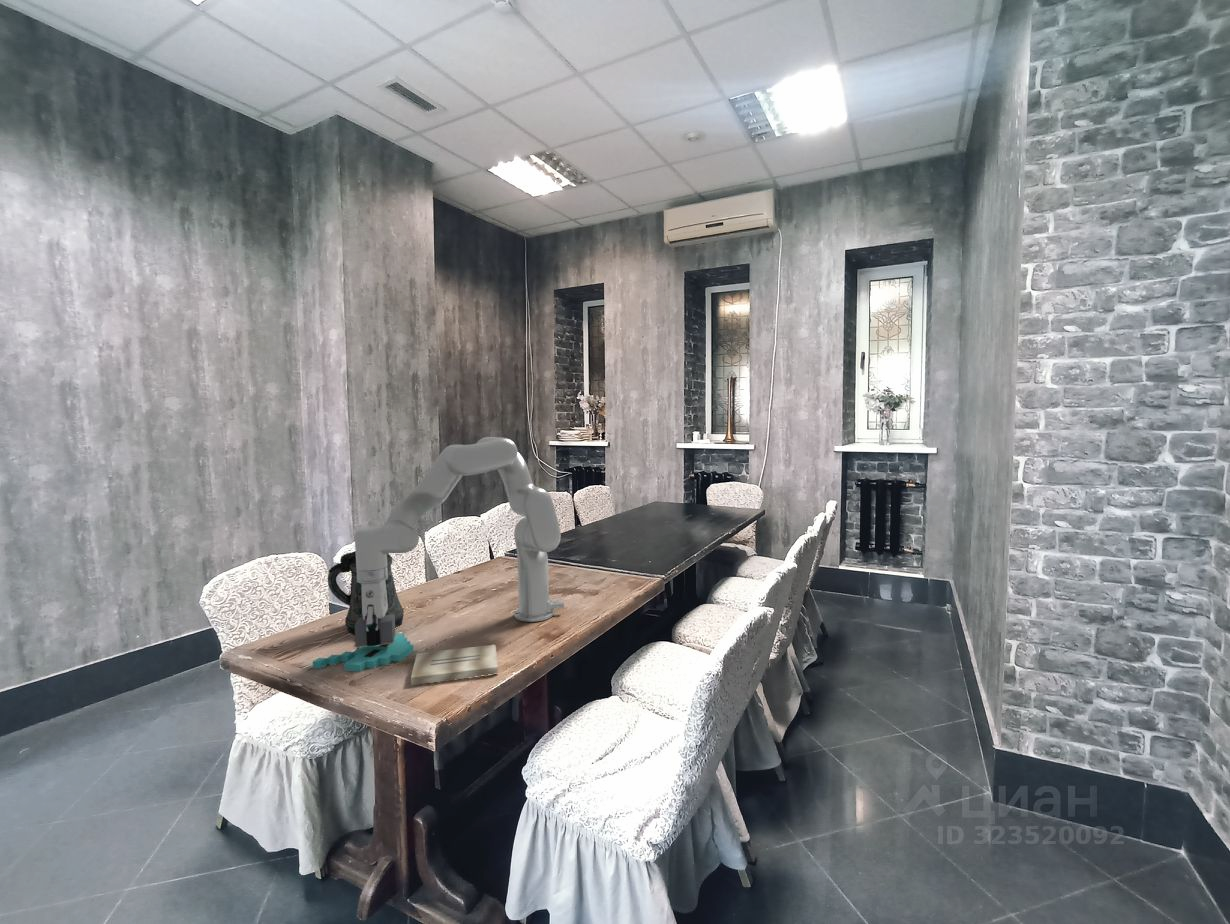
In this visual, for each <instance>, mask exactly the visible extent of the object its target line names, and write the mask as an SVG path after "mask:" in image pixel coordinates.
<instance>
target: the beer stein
mask: <svg viewBox="0 0 1230 924" xmlns="http://www.w3.org/2000/svg"><path fill="white" fill-rule="evenodd" d="M392 564H393V557H392V556H391V555H390V553H387V567H388V579H386V580H385V582H386V591H387V602H388V609H387V612H386V614H385V615H392V614H395V628H396V627H398V626H399V627H401V626H402V624H403V622H404V621H403V620H404V612H405V611H404V608H403V607H402V605H401V601H400V600H399V596H398V593H397V589H396V585H395V581H394V577H393V576H394V575H393V571H392ZM349 572H351V573H350V574H351V580H350V594H348V593H346V592H345V591H344V590H342V589H341V587H340V586H339V584H338V583H337V577H338V576H339V575H340V573H341V574H342V573H349ZM327 584H328V588H329V590H330V592H331V593H332V594H333V596H335V598H337V599H338V600H339V601H340V602H341V603H343V604H345V605H347V606H349V607H348V610H347V613H346V617H345V619H344V623H345V626H346V630H347V633H348V634H350V633H351V635H353V636H355V624H356V622H357V620H358V618H361V617H363V614H362V592H361V591H362V583H358V582H357V570H356V551H355V550H354V551H351V552H348V553H345V554H343V555H341V557H340V563H336V564H335V565H333V566H331V567H330V569H329V571H328V576H327ZM402 621H403V622H402ZM400 625H401V626H400ZM399 627H398V628H399ZM396 629H397V628H396Z"/></svg>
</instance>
